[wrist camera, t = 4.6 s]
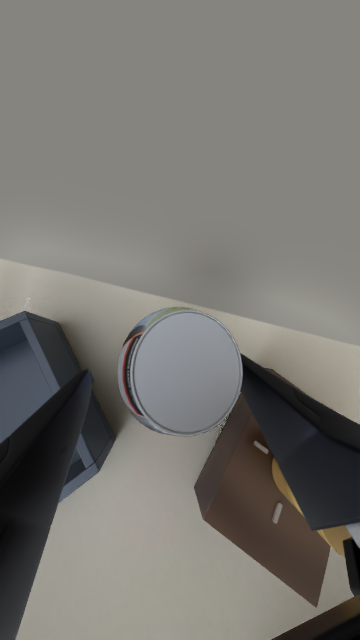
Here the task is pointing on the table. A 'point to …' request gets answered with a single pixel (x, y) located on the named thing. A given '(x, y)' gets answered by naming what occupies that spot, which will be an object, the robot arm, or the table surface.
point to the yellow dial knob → (329, 535)
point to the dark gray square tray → (46, 389)
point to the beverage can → (180, 372)
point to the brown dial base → (259, 506)
